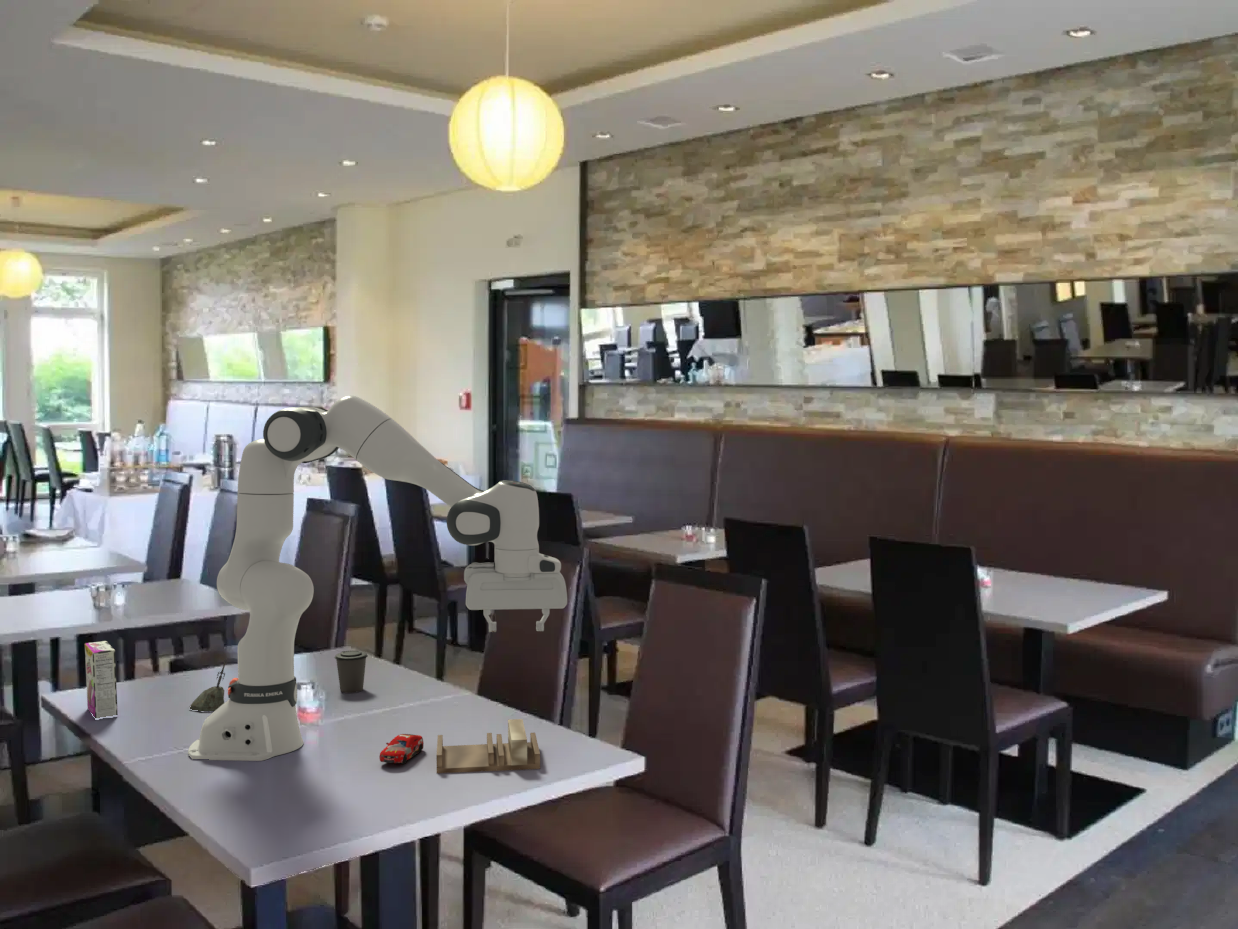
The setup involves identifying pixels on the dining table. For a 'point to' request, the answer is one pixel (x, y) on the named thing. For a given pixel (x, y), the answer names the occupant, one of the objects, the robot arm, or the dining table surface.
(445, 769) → the jig
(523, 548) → the robot arm
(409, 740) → the race car
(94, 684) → the candy bar box
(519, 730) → the bar
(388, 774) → the dining table surface
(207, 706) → the sword in stone
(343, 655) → the coffee cup
